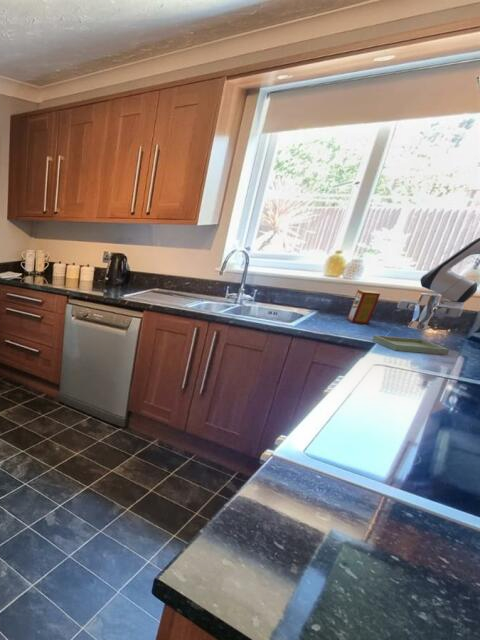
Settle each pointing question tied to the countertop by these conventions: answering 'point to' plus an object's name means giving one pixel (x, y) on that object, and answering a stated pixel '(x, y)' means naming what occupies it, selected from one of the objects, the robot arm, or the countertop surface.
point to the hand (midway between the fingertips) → (424, 309)
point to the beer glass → (424, 310)
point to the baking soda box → (363, 306)
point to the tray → (410, 344)
